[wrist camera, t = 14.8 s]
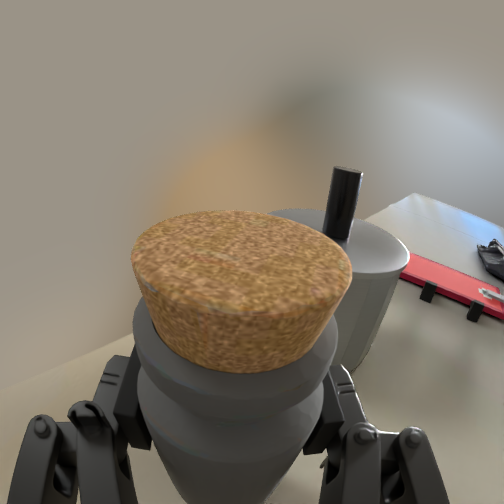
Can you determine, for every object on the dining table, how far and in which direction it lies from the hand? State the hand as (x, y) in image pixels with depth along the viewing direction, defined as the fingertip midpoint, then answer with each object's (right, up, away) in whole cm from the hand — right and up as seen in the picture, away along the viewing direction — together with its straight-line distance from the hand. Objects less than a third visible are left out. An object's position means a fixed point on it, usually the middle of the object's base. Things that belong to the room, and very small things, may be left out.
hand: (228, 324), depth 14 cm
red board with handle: (+37, -4, +23) cm, 43 cm away
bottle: (-1, -10, -1) cm, 10 cm away
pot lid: (+8, +5, +10) cm, 14 cm away
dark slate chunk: (+62, -1, +36) cm, 72 cm away
